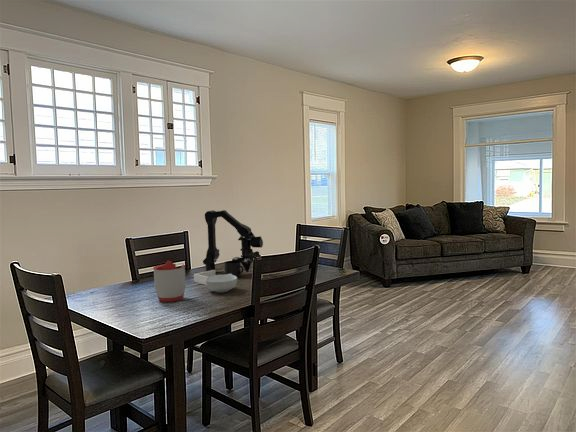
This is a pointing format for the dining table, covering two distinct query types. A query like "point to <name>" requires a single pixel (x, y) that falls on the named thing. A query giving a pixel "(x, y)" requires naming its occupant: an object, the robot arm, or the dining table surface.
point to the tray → (204, 276)
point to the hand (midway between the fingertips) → (247, 272)
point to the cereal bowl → (221, 282)
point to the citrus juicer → (169, 282)
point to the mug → (233, 268)
